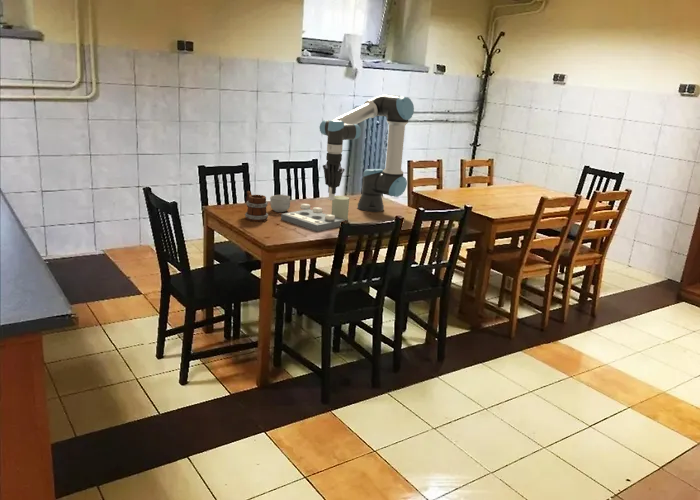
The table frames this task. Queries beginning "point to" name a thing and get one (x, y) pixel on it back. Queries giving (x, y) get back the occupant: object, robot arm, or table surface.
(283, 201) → the teacup
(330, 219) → the button
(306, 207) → the button
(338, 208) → the can
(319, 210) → the button middle
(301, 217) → the button board
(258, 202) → the mug
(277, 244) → the table surface
